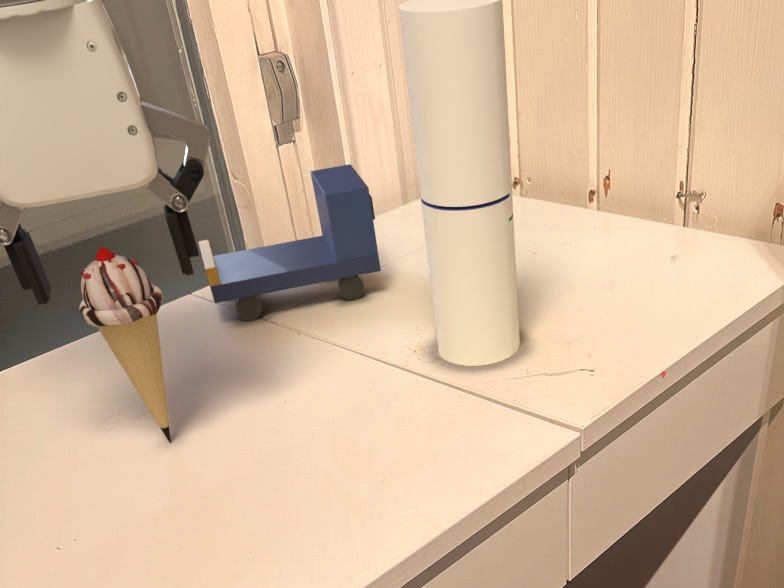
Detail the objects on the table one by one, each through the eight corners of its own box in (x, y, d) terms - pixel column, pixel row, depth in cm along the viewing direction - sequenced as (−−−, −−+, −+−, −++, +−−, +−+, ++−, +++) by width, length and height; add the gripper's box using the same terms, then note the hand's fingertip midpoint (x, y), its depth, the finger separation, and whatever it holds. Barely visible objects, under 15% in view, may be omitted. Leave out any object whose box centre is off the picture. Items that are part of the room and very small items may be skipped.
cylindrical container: (421, 355, 79) (377, 10, 62) (469, 323, 83) (439, -9, 66) (489, 372, 76) (462, 13, 59) (535, 338, 80) (522, -8, 63)
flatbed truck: (221, 328, 87) (191, 218, 80) (214, 297, 92) (184, 192, 86) (387, 295, 89) (371, 186, 83) (369, 267, 95) (353, 163, 88)
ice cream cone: (220, 428, 72) (161, 233, 62) (181, 466, 69) (111, 266, 58) (160, 421, 74) (93, 230, 64) (118, 458, 70) (40, 261, 60)
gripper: (160, -49, 55) (236, 241, 67) (-143, -6, 52) (-9, 289, 64) (167, -38, 50) (248, 276, 61) (-171, 10, 47) (-19, 330, 59)
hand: (117, 282), depth 63 cm, fingers open, 9 cm apart
